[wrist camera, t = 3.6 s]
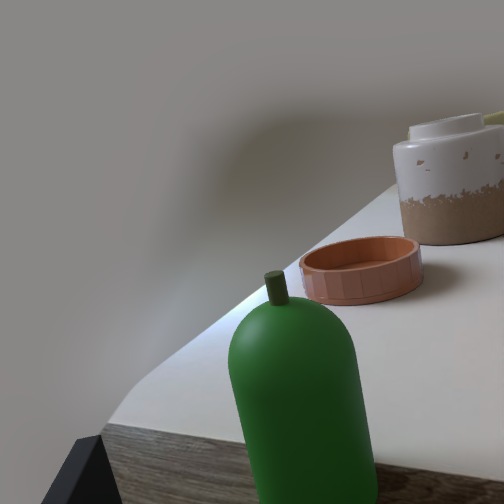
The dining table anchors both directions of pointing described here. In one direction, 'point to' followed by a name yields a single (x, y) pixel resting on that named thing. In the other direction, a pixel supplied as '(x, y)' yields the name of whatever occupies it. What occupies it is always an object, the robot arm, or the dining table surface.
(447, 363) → the dining table surface
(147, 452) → the dining table surface
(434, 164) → the vase
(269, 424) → the green pepper
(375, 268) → the orange bowl
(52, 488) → the robot arm
